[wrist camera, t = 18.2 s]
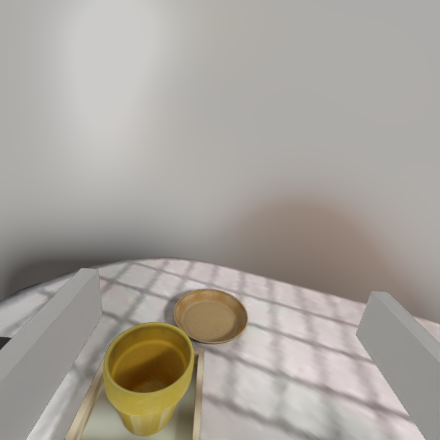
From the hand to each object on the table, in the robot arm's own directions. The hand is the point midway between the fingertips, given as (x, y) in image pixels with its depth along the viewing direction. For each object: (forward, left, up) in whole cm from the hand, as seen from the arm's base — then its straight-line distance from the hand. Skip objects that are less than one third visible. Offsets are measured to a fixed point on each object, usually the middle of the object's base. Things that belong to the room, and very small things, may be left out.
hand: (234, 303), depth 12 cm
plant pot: (+12, +7, -28) cm, 31 cm away
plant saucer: (+29, -1, -29) cm, 41 cm away
